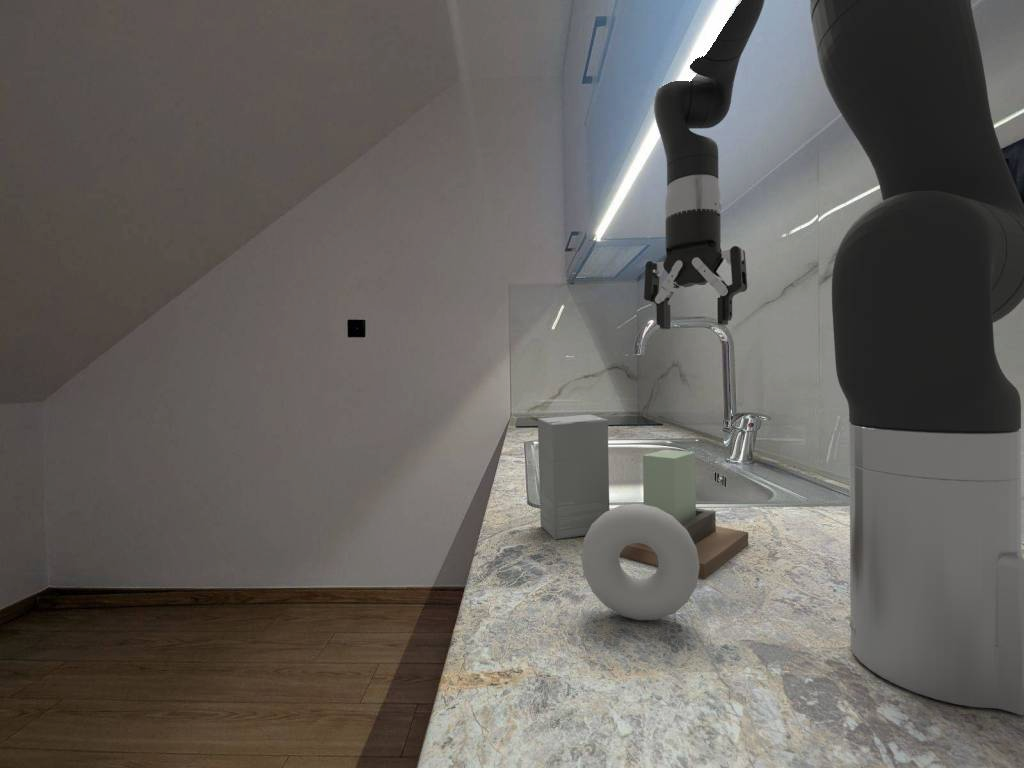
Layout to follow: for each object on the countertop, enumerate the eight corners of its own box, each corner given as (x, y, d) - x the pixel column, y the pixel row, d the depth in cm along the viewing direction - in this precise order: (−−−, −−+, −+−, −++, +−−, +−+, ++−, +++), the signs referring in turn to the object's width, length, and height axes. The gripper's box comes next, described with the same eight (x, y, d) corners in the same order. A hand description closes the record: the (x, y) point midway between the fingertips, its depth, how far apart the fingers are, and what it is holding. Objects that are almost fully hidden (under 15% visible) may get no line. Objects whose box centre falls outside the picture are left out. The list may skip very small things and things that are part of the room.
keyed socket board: (748, 544, 61) (748, 512, 61) (704, 578, 51) (704, 540, 51) (645, 522, 71) (645, 495, 71) (591, 548, 60) (590, 516, 60)
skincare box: (591, 521, 72) (590, 413, 72) (613, 536, 65) (612, 417, 65) (536, 526, 70) (535, 415, 70) (553, 542, 63) (552, 419, 63)
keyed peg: (675, 543, 57) (674, 458, 57) (643, 536, 60) (643, 455, 60) (696, 531, 62) (695, 452, 62) (666, 525, 64) (665, 449, 64)
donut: (698, 615, 43) (697, 502, 43) (702, 635, 40) (701, 512, 40) (584, 603, 46) (583, 496, 46) (579, 620, 42) (578, 505, 42)
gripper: (635, 220, 73) (636, 329, 73) (734, 196, 64) (735, 321, 64) (658, 231, 79) (658, 332, 79) (752, 210, 69) (753, 325, 69)
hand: (693, 327), depth 71 cm, fingers open, 8 cm apart
